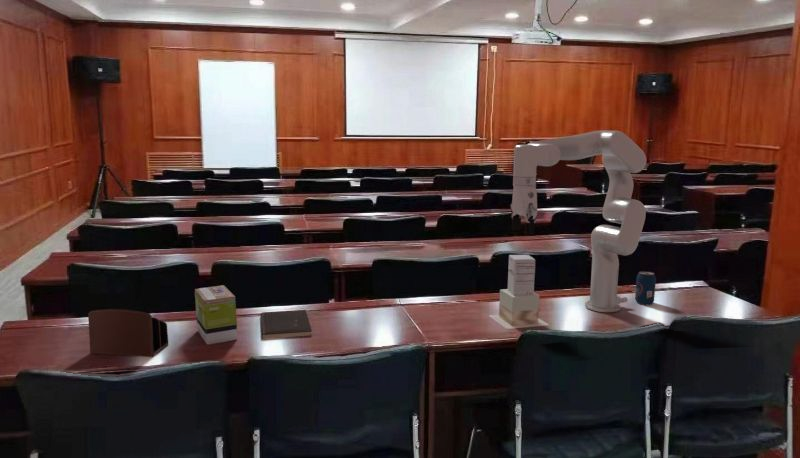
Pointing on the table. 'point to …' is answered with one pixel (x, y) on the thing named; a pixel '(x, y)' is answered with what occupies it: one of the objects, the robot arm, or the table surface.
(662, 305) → the table surface
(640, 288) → the soda can
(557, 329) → the table surface
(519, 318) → the lower block
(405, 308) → the table surface
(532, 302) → the upper block
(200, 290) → the tea box
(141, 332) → the letter holder
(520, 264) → the supplement box
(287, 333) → the hardcover book
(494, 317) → the base board
